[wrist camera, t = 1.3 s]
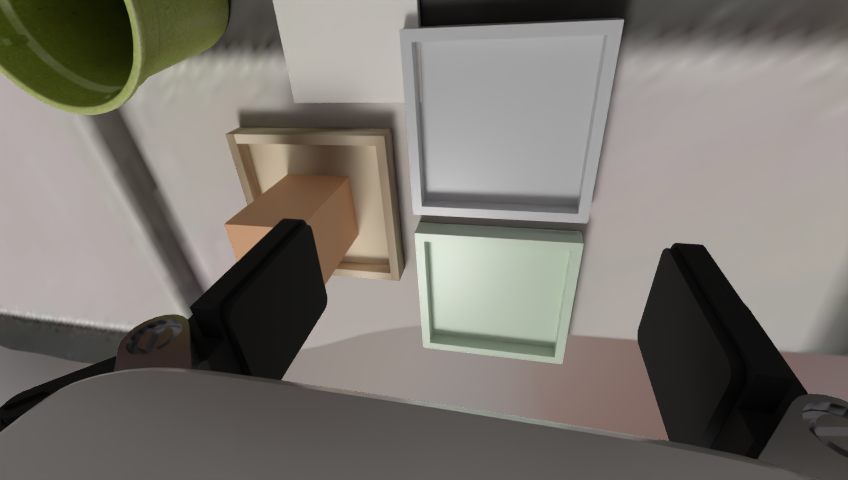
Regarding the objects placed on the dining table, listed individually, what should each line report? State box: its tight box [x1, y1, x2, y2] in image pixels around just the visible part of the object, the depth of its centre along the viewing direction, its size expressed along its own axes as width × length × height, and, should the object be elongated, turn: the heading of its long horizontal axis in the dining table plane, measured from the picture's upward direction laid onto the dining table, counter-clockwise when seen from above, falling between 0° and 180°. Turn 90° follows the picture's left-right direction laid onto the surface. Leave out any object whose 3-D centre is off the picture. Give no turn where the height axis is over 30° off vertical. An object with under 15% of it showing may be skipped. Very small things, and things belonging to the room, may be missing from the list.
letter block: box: [224, 174, 358, 285], centre depth 25 cm, size 4×5×7 cm
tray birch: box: [226, 127, 405, 281], centre depth 28 cm, size 11×11×2 cm
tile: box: [273, 0, 423, 103], centre depth 22 cm, size 8×8×1 cm
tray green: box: [415, 222, 584, 364], centre depth 29 cm, size 11×11×2 cm
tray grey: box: [399, 18, 624, 224], centre depth 23 cm, size 11×11×2 cm
